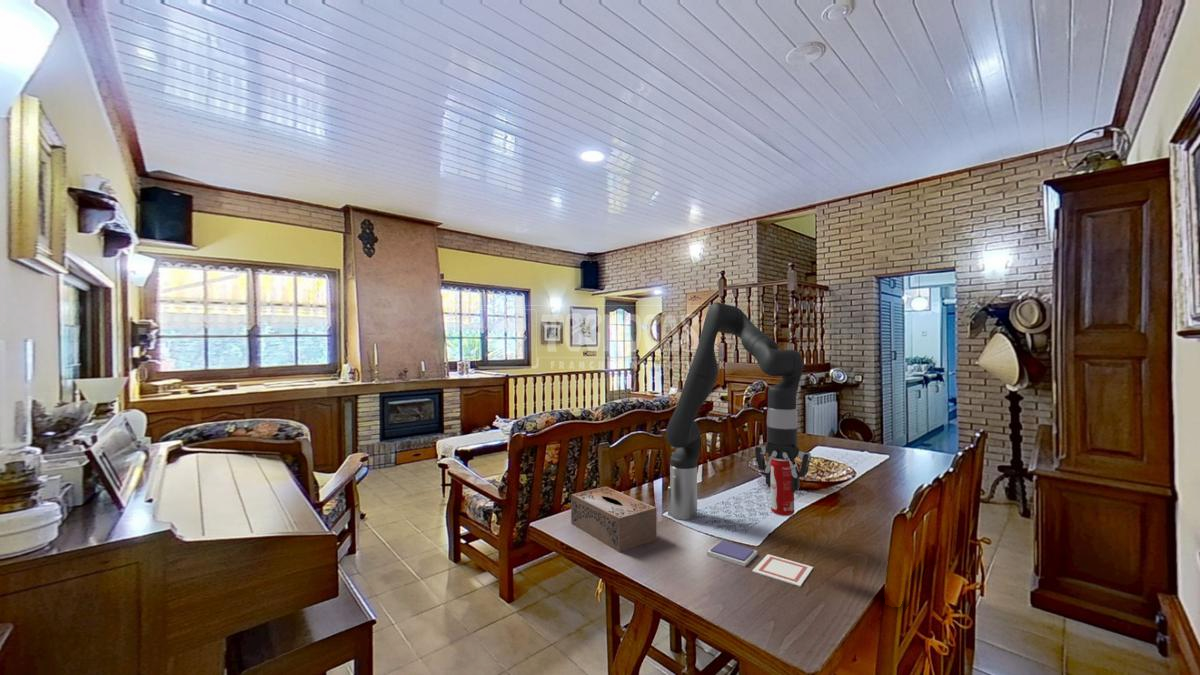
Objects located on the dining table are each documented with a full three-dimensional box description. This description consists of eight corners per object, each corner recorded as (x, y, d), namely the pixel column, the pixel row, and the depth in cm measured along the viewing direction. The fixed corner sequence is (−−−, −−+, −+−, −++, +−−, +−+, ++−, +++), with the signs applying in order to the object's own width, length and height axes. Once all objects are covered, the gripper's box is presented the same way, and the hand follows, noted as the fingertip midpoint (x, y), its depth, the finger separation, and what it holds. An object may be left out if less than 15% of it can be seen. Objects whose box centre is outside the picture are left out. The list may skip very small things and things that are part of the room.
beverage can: (793, 510, 125) (793, 454, 125) (795, 519, 119) (795, 460, 119) (770, 507, 127) (769, 452, 127) (770, 516, 121) (770, 458, 121)
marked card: (752, 571, 122) (752, 570, 122) (767, 555, 131) (767, 553, 131) (800, 586, 114) (800, 585, 114) (813, 568, 123) (813, 566, 123)
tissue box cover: (571, 524, 154) (571, 494, 154) (606, 514, 162) (606, 486, 162) (619, 553, 133) (619, 518, 133) (656, 540, 141) (656, 507, 141)
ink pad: (707, 555, 131) (707, 549, 131) (720, 543, 138) (720, 538, 138) (745, 566, 124) (745, 561, 124) (757, 554, 131) (757, 549, 131)
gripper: (814, 426, 121) (815, 490, 121) (759, 420, 130) (760, 480, 130) (806, 430, 115) (807, 498, 115) (750, 424, 124) (750, 487, 124)
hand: (782, 488), depth 123 cm, fingers closed on beverage can, 5 cm apart
